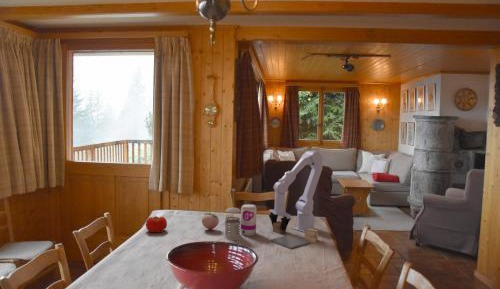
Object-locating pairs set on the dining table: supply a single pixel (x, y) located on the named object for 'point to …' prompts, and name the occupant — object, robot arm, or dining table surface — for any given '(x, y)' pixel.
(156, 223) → the tomato
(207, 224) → the decorative fruit
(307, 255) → the dining table surface
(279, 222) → the walnut cube
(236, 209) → the french press
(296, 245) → the slate trivet
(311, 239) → the maple cube
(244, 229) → the supplement can
